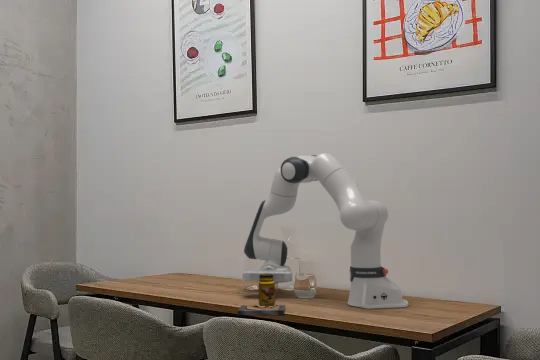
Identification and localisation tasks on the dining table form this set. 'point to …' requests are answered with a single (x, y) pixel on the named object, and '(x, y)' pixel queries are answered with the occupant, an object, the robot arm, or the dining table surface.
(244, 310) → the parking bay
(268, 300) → the condiment
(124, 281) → the dining table surface
